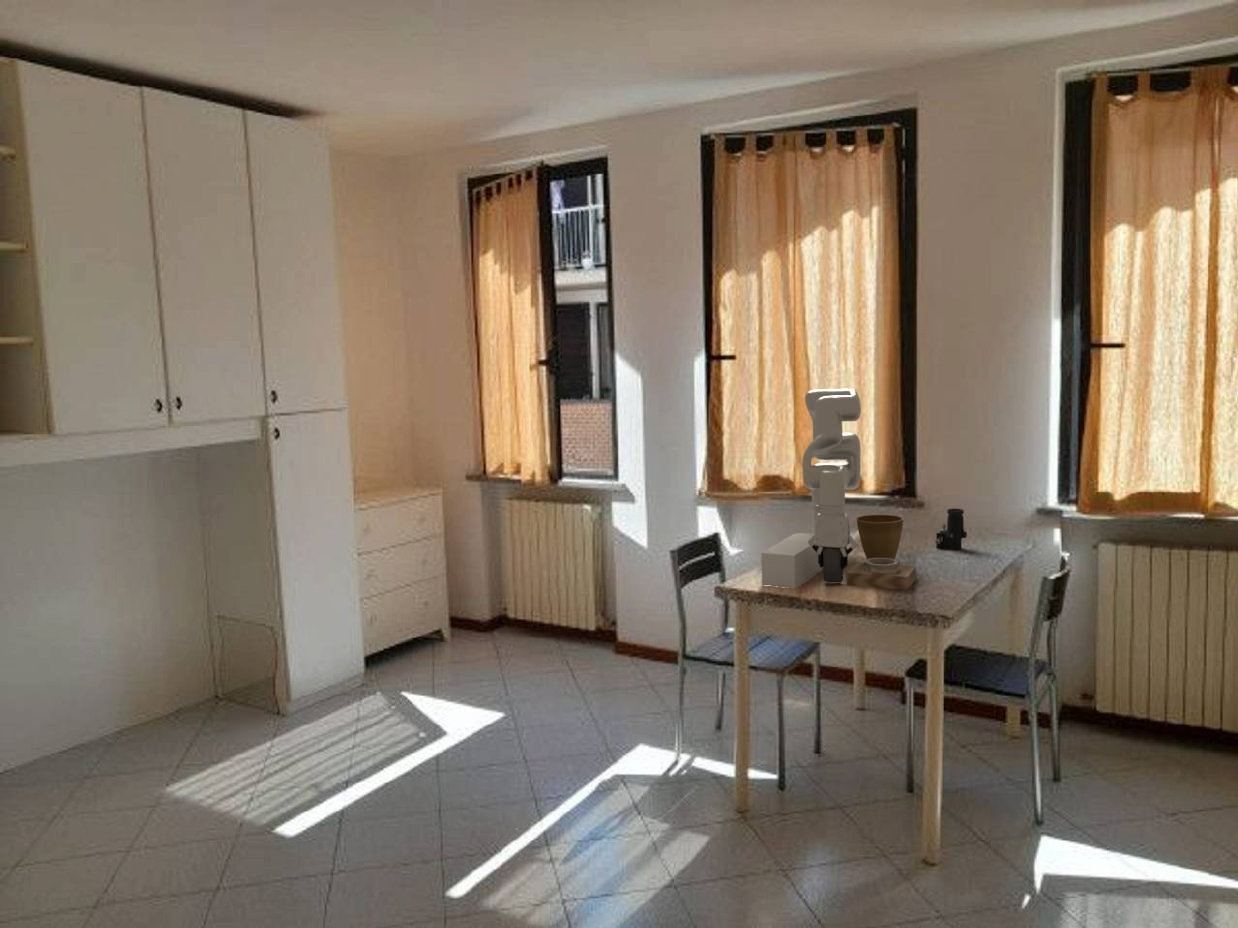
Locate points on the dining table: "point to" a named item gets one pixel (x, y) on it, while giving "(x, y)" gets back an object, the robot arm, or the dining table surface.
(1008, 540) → the dining table surface
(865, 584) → the wooden block
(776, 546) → the stack of papers
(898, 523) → the plant pot
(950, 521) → the scope
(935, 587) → the dining table surface
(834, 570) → the lens
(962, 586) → the dining table surface
